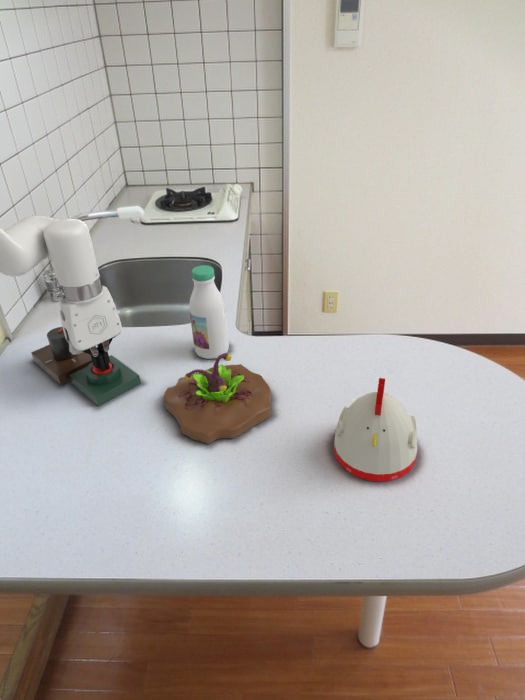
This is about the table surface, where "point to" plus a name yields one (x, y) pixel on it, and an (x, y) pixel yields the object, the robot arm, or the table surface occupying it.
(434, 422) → the table surface
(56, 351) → the lock knob
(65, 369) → the panel
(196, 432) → the plant
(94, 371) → the button
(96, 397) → the button box
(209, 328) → the milk bottle
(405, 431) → the kitchen timer
